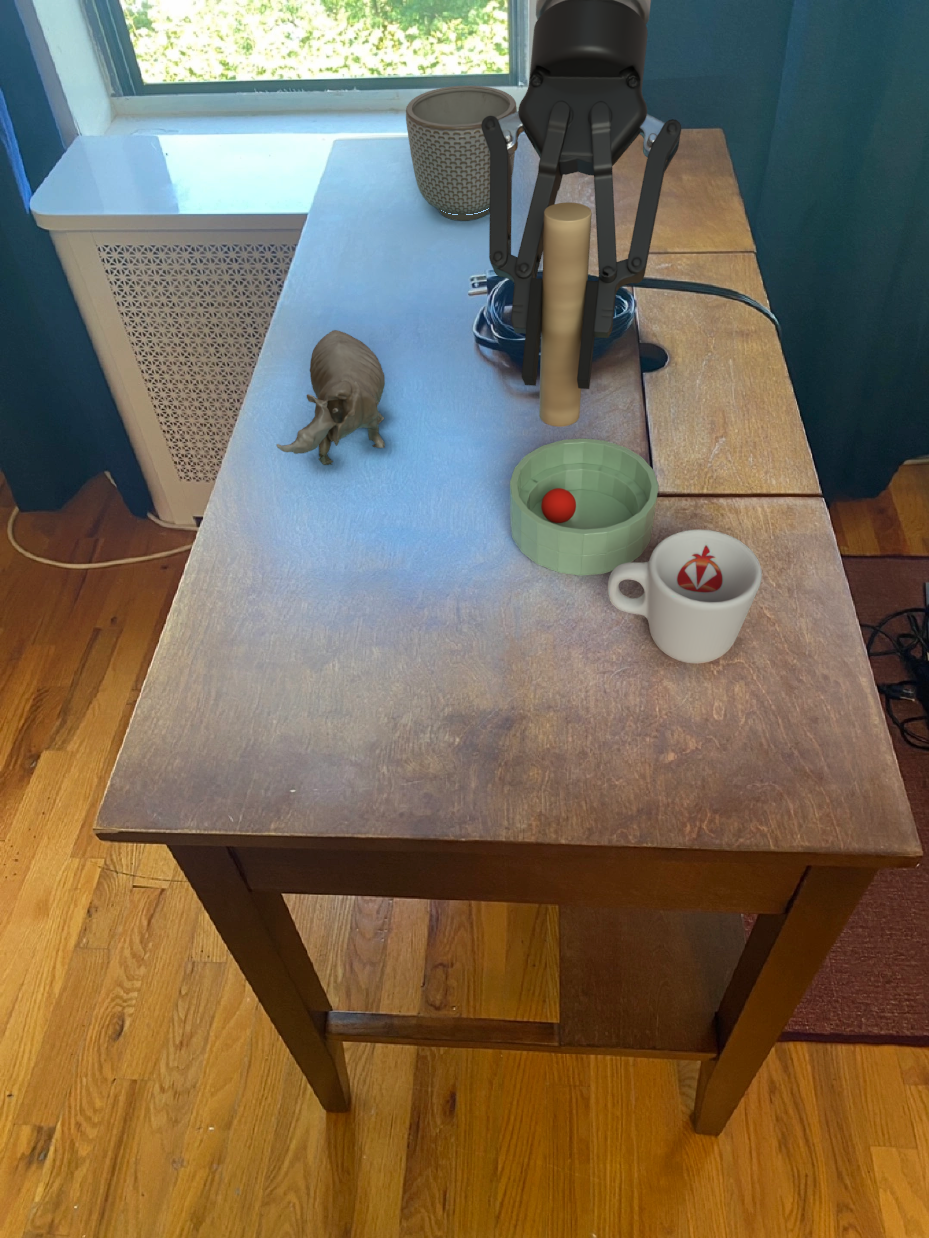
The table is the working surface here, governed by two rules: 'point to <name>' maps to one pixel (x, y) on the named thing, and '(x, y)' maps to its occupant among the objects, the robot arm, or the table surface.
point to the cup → (692, 592)
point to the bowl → (584, 506)
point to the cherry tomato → (558, 505)
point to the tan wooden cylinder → (563, 310)
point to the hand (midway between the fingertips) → (556, 382)
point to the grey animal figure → (341, 395)
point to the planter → (455, 146)
